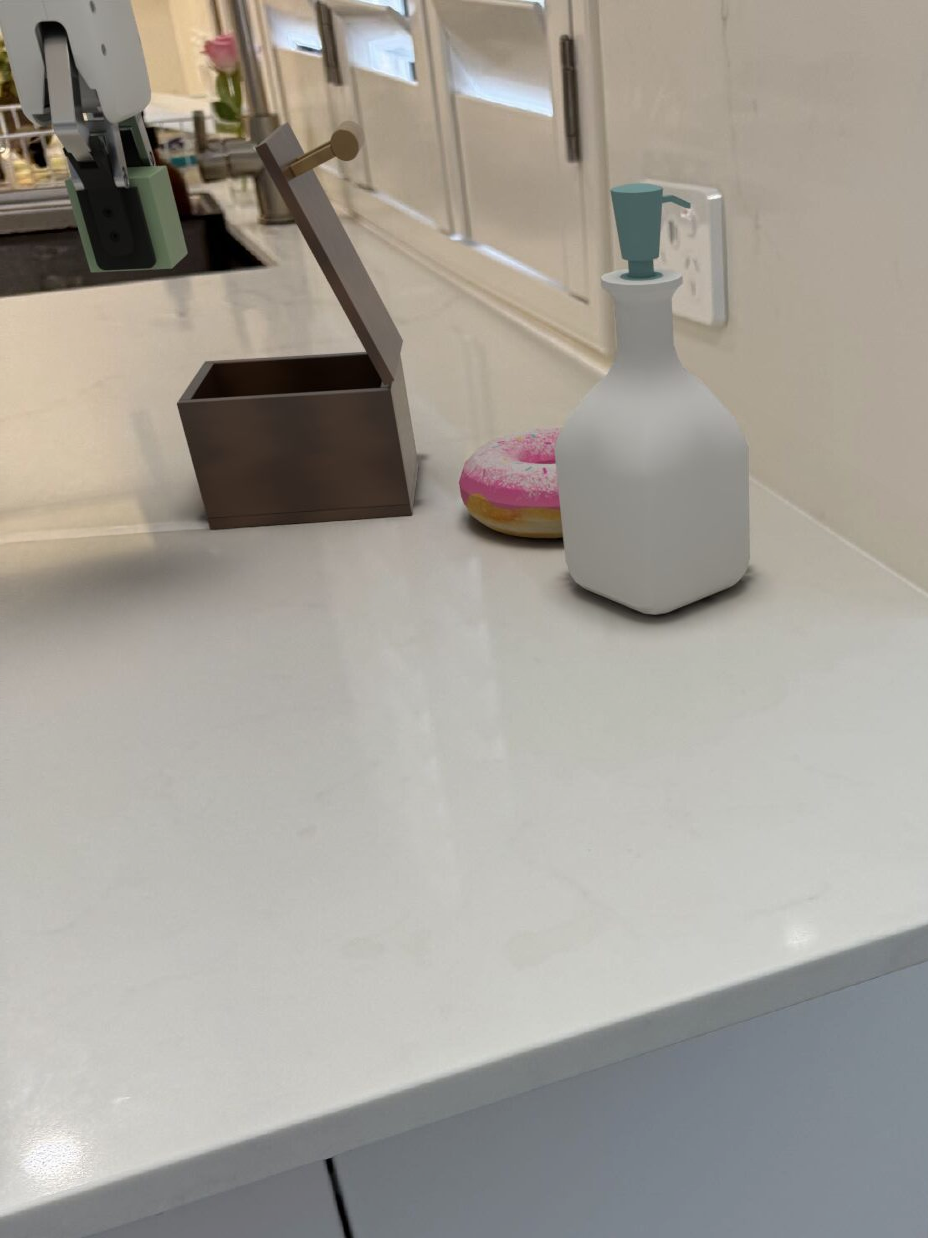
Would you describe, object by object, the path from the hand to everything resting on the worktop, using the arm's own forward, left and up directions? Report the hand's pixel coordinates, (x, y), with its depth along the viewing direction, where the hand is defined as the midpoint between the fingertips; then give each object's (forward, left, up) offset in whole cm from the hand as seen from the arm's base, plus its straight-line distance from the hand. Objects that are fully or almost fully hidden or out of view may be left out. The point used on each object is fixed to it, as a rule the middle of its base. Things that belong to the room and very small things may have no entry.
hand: (138, 255), depth 78 cm
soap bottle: (+29, -8, -19) cm, 36 cm away
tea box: (+5, +15, -19) cm, 25 cm away
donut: (+23, +7, -19) cm, 31 cm away
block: (0, 0, 0) cm, 0 cm away
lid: (+9, +15, -3) cm, 18 cm away
